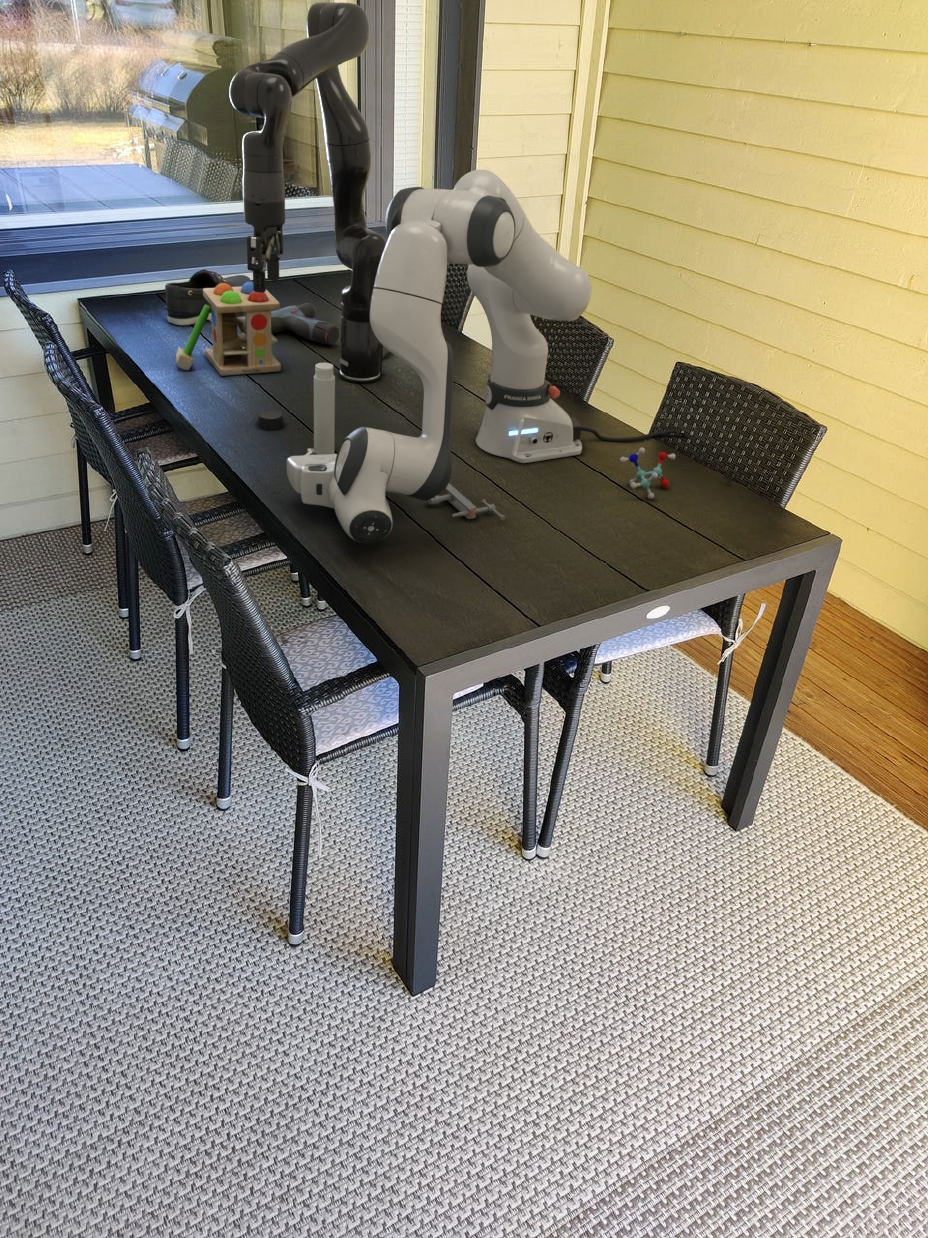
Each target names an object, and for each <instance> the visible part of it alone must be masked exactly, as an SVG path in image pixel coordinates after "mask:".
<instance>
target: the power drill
mask: <svg viewBox="0 0 928 1238" xmlns="http://www.w3.org/2000/svg"><path fill="white" fill-rule="evenodd" d="M315 315H316V308H315V306H314V305H313V304H312V303H311V302H305V303H300V304H295V305H294V304H293V305H289V306H285V307H283V308H280V310H271V334H272V335H273V334H275V333H276V334H277V333H279V332H282V331H286V330H290V331H292V332H293V333H295V334H296V335H298V336H300V337H302V338H305V339H307V340H309V341H313V342H316V343H319V344H323V345H327V346H333V345H335V344H336V343H337V342H338V340H339V337H340V330H339V328H338V326H336V325H334V324H333V323H332V324H331V323H329V322H328V321H323V320H321V319H317V318H314V317H315Z"/></svg>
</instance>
